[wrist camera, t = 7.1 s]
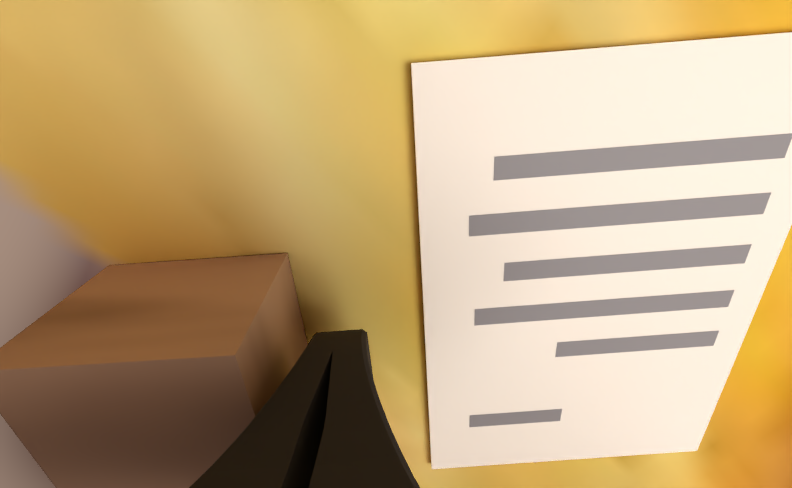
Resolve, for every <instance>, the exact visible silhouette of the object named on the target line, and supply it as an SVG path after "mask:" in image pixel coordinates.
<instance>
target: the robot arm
mask: <svg viewBox="0 0 792 488" xmlns="http://www.w3.org/2000/svg"><path fill="white" fill-rule="evenodd" d="M189 488H420V487H419V485H418V483H417V482H416V480H415V478H414V476H413V474H412V472H411V470H410V468H409V466H408V464H407V462H406V460H405V458H404V456H403V454H402V452H401V450H400V448H399V446H398V444H397V441H396V439H395V437H394V435H393V433H392V430H391V428H390V425H389V423H388V421H387V418H386V416H385V413H384V410H383V408H382V405H381V402H380V399H379V397H378V394H377V391H376V387H375V384H374V381H373V374H372V366H371V359H370V352H369V344H368V337H367V332H365V331H364V330H363V329H360V330H346V331H332V332H319V333H316V334H315V335H314V336H313V338H312V339H311V341H310V342H309V344H308V345H307V347H306V348H305V350H304V351H303V353H302V354H301V356H300V357H299V359H298V360H297V362H296V363H295V365H294V366H293V367H292V369H291V370H290V372H289V373H288V374H287V376H286V377H285V379H284V380H283V381H282V383H281V384H280V385H279V387H278V388H277V389H276V391H275V392H274V394H273V395H272V396H271V397H270V399H269V400H268V401H267V403H266V404H265V405H264V406H263V407H262V409H261V410H260V411H259V412H258V414H257V415H256V416H255V417H254V419H253V420H252V421H251V422H250V423H249V425H248V426H247V427H246V428H245V429H244V431H243V432H242V433H241V434H240V435H239V436H238V437H237V439H236V440H235V441H234V442H233V443H232V444H231V445H230V446H229V447H228V448H227V450H226V451H225V452H224V453H223V454H222V455H221V456H220V457H219V458H218V459H217V460H216V461H215V462H214V463H213V464H212V465H211V466H210V467H209V468H208V469H207V470H206V471H205V472H204V473H203V474H202V475H201V476H200V477H199V478H198V479H197V480H196V481H195V482H194V483H193V484H192V485H191V486H190V487H189Z"/></svg>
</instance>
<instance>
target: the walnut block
mask: <svg viewBox="0 0 792 488" xmlns="http://www.w3.org/2000/svg"><path fill="white" fill-rule="evenodd" d="M307 345H308V344H307V339H306V335H305V330H304V325H303V321H302V316H301V312H300V307H299V303H298V298H297V294H296V289H295V285H294V280H293V276H292V271H291V267H290V262H289V257H288V253H282V254H267V255H252V256H238V257H223V258H208V259H193V260H178V261H163V262H148V263H133V264H119V265H109V266H107V267H106V268H105V269H103V270H102V271H101V272H100V273H98V274H97V275H96V276H94V277H93V278H92V279H90V280H89V281H88V282H86V283H85V284H84V285H82V286H81V287H80V288H78V289H77V290H76V291H74V292H73V293H72V294H71V295H69V296H68V297H67V298H65V299H64V300H63V301H61V302H60V303H59V304H57V305H56V306H55V307H53V308H52V309H51V310H50V311H48V312H47V313H46V314H44V315H43V316H42V317H40V318H39V319H38V320H36V321H35V322H34V323H32V324H31V325H30V326H28V327H27V328H26V329H24V330H23V331H22V332H20V333H19V334H18V335H16V336H15V337H14V338H13V339H11V340H10V341H9V342H7V343H6V344H5V345H3V346H2V347H1V348H0V414H1V415H2V417H3V418H4V419H5V421H6V422H7V423H8V425H9V426H10V427H11V429H12V430H13V431H14V433H15V434H16V435H17V437H18V438H19V439H20V441H21V442H22V443H23V444H24V446H25V447H26V449H27V450H28V451H29V452H30V454H31V455H32V457H33V458H34V459H35V461H36V462H37V463H38V464H39V466H40V467H41V468H42V470H43V471H44V472H45V474H46V475H47V476H48V478H49V479H50V480H51V482H52V483H53V484H54V486H55V487H56V488H189V487H190V486H191V485H192V484H193V483H194V482H195V481H196V480H197V479H198V478H199V477H200V476H201V475H202V474H203V473H204V472H205V471H206V470H207V469H208V468H209V467H210V466H211V465H212V464H213V463H214V462H215V461H216V460H217V459H218V458H219V457H220V456H221V455H222V454H223V453H224V452H225V451H226V450H227V448H228V447H229V446H230V445H231V444H232V443H233V442H234V441H235V440H236V439H237V437H238V436H239V435H240V434H241V433H242V432H243V431H244V429H245V428H246V427H247V426H248V425H249V423H250V422H251V421H252V420H253V419H254V417H255V416H256V415H257V414H258V412H259V411H260V410H261V409H262V407H263V406H264V405H265V404H266V403H267V401H268V400H269V399H270V397H271V396H272V395H273V394H274V392H275V391H276V389H277V388H278V387H279V385H280V384H281V383H282V381H283V380H284V379H285V377H286V376H287V374H288V373H289V372H290V370H291V369H292V367H293V366H294V365H295V363H296V362H297V360H298V359H299V357H300V356H301V354H302V353H303V351H304V350H305V348H306V347H307Z"/></svg>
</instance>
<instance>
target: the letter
mask: <svg viewBox="0 0 792 488" xmlns="http://www.w3.org/2000/svg"><path fill="white" fill-rule="evenodd" d="M411 76H412V96H413V115H414V135H415V154H416V174H417V194H418V213H419V233H420V253H421V272H422V292H423V312H424V331H425V351H426V370H427V390H428V410H429V429H430V449H431V466H432V469H442V468H456V467H470V466H485V465H499V464H514V463H528V462H542V461H557V460H571V459H586V458H600V457H614V456H629V455H643V454H658V453H672V452H687V451H697V449H698V447H699V445H700V442H701V440H702V437H703V435H704V433H705V430H706V428H707V426H708V423H709V421H710V418H711V416H712V414H713V411H714V409H715V406H716V404H717V402H718V399H719V397H720V394H721V392H722V390H723V387H724V385H725V383H726V380H727V378H728V375H729V373H730V371H731V368H732V366H733V363H734V361H735V359H736V356H737V354H738V351H739V349H740V347H741V344H742V342H743V340H744V337H745V335H746V332H747V330H748V328H749V325H750V323H751V320H752V318H753V316H754V313H755V311H756V309H757V306H758V304H759V301H760V299H761V297H762V294H763V292H764V289H765V287H766V285H767V282H768V280H769V277H770V275H771V273H772V270H773V268H774V266H775V263H776V261H777V258H778V256H779V254H780V251H781V249H782V246H783V244H784V242H785V239H786V237H787V234H788V232H789V230H790V227H791V225H792V32H786V33H774V34H762V35H749V36H737V37H725V38H713V39H700V40H688V41H676V42H664V43H651V44H639V45H627V46H615V47H602V48H590V49H578V50H566V51H553V52H541V53H529V54H516V55H504V56H492V57H480V58H467V59H455V60H443V61H431V62H418V63H411Z"/></svg>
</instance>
